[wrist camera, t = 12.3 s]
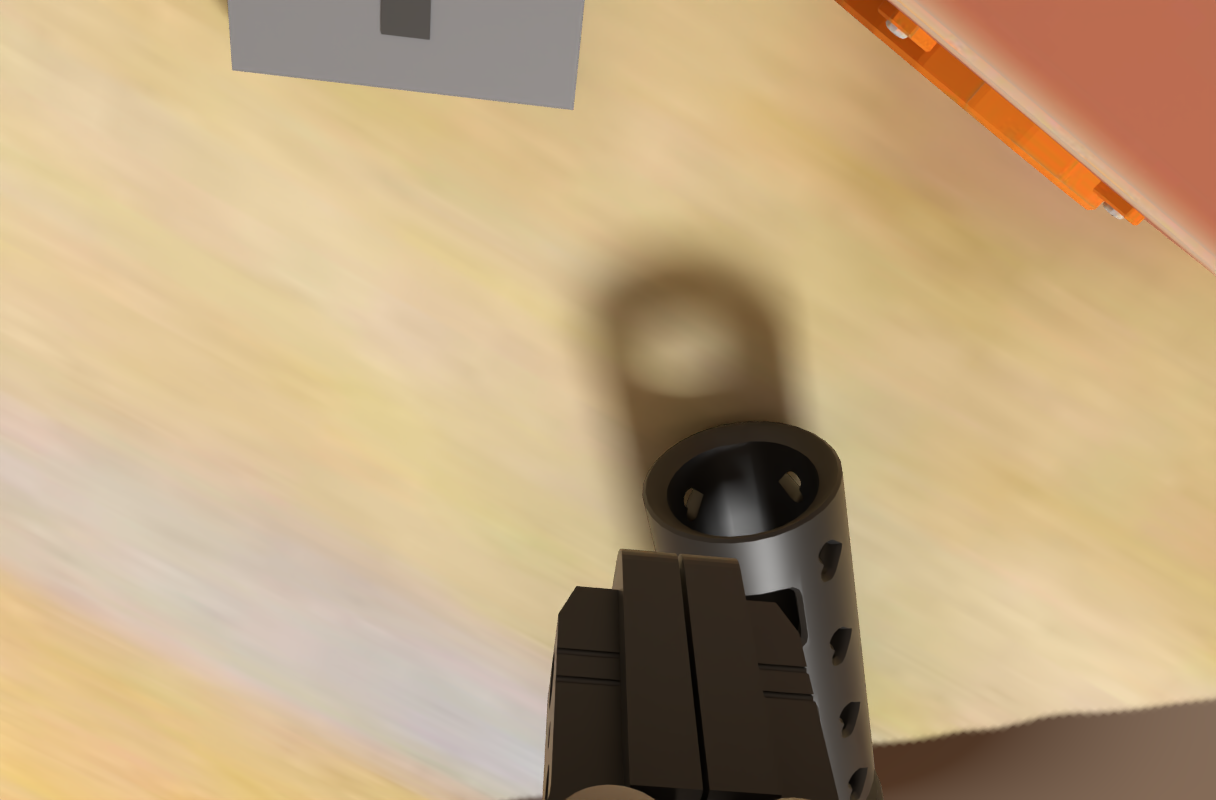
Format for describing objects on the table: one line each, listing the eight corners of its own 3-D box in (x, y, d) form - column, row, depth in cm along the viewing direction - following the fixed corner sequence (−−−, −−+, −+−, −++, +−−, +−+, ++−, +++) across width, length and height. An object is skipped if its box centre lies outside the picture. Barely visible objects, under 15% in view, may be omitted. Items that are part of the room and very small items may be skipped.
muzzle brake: (822, 392, 50) (871, 523, 41) (865, 767, 64) (909, 925, 56) (632, 427, 51) (639, 562, 42) (715, 789, 65) (734, 947, 56)
